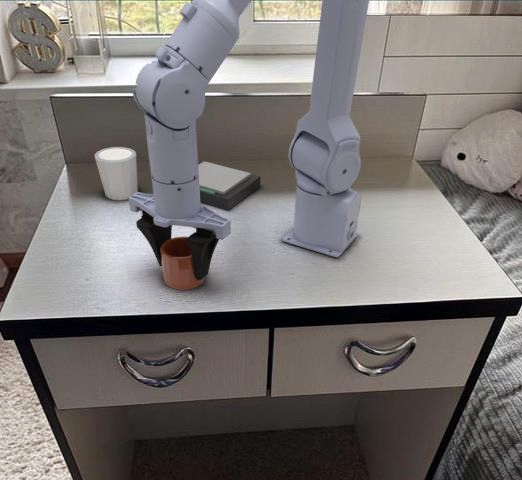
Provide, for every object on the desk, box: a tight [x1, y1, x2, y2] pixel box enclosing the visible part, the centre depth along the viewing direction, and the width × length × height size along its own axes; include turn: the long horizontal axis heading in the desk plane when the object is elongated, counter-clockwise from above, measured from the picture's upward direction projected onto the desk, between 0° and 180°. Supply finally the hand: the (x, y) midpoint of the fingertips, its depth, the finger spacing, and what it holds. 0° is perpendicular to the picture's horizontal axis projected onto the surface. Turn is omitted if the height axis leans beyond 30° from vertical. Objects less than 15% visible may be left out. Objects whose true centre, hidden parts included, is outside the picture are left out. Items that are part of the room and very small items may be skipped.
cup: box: [160, 236, 205, 291], centre depth 71 cm, size 6×6×5 cm
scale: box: [198, 160, 261, 211], centre depth 94 cm, size 13×11×3 cm
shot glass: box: [94, 146, 139, 201], centre depth 90 cm, size 7×7×7 cm
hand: (183, 269), depth 72 cm, fingers closed on cup, 5 cm apart
